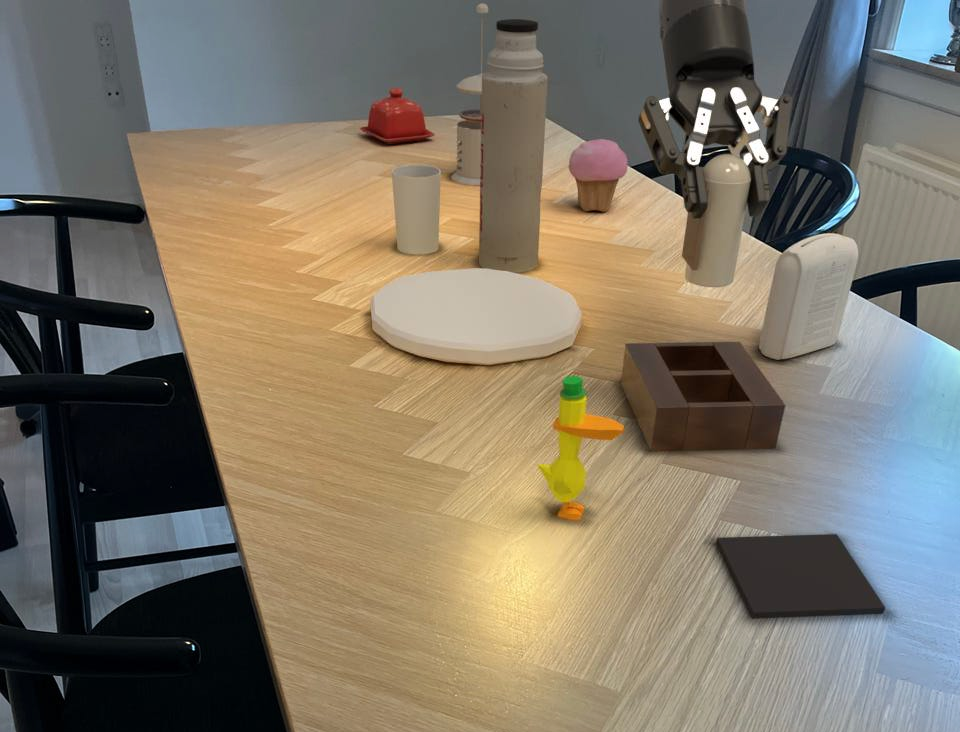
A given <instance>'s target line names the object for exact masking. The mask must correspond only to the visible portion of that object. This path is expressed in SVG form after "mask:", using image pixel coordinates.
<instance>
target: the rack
mask: <svg viewBox="0 0 960 732" xmlns="http://www.w3.org/2000/svg"><path fill="white" fill-rule="evenodd" d="M623 353H624V355H623V361H622V371H621V379H620V386H621V388H622V390H623V392H624V394H625V397H626V399H627V401H628V403H629V406H630V408H631V411H632V413H633V414H634V417H635V419H636V421H637V424H638V426H639V428H640V430H641V433H642V435H643V437H644V439H645V442H646V444H647V446H648V449H649V451H650V452H653V453H657V452H658V453H659V452H692V451H693V452H694V451H695V452H697V451H734V450H735V451H736V450H737V451H738V450H739V451H740V450H775V449H776V448H777V443H778V439H779V435H780V431H781V426H782V422H783V418H784V413H785V409H786V403H785V402H784V401H783V399H782V398H781V396H780V395H779V394H778V393H777V391H776V390H775V388H774V387H773V385H772V384H771V383H770V381H769V380H768V379H767V377H766V376H765V374H764V373H763V372H762V370H761V369H760V368H759V366H758V365H757V364H756V362H755V360H754V359H753V358H752V357H751V355H750V353H749V352H748V351H747V350H746V348H745V347H744V345H743V344H742V342H741V341H697V342H696V341H695V342H694V341H693V342H692V341H691V342H690V341H689V342H688V341H687V342H685V341H684V342H634V343H633V342H632V343H631V342H630V343H628V342H627V343H625V345H624V352H623Z"/></svg>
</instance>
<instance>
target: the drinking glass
mask: <svg viewBox="0 0 960 732" xmlns="http://www.w3.org/2000/svg"><path fill="white" fill-rule="evenodd" d="M441 177H442V170H441V169H440V168H438V167H436V166H433V165H426V164H404V165H400V166H395V167H393V168H391V180H392V181H391V182H392V183H391V184H392V195H393V205H394V206H393V208H394V218H395V219H394V221H395V232H396V233H395V234H396V244H397V245H396V246H397V250H398V251H399V252H401V253H404V254H407V255H427V254H432V253H435V252H437V251H438V250H439V243H440V242H439V240H440V239H439V238H440V212H441V210H440V208H441V207H440V206H441V181H442V178H441Z"/></svg>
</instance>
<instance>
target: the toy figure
mask: <svg viewBox="0 0 960 732" xmlns="http://www.w3.org/2000/svg"><path fill="white" fill-rule="evenodd" d="M583 381H584V379H583V378H582V376H577V375H571V376H566V377H565V378H563V379H562V384H563V389H561V390H560V391H559V404H558V405H559V406H558V416H557V417H555V419H554V421H553V424H552V429H553V430H555V431H557V436H558V449H559V450H558V451H559V455H558V456H557V457H556V458H555V460H554V461H552V463H551V464H544V463H543V464H542V463H536V465H537V468H538V469H539V470H540V472H541V474H542V475H543V477H544V479H545V480H546V482H547V484H548V487H549V489H550V491H551V493H552V494H553V496H554V497H555V499H556V500H557V501H559V502H562V504H561V506H560V508H559V511H558V513H557V515H556V516H557V517H558V518H561V519H565V520H567V521H568V520H569V521H581V519H582V517H583V514H584V511H585V507H584V506H583V505H582V504H580V503H579V502H574V500H575V499H576V498H577V497H578V496H579V495H580V494H581V493H582V491H583V490H584V489H585V487H586V476H587V471H586V468H585V466H584V464H583V463H582V461H581V460H580V458H579V453H580V450H581V449H580V448H581V444H582V441H583V439H592V440H600V441H601V440H602V441H613V440H614V439H615V438H618V437H619V436H620V435H622V434H623V433H624V428H625V425H623V424H621V423H620V422H618V421H617V420H615V419H611V418H609V417H605V416H600V415H596V414H588V413H587V402H588V398H587V396H586V395H587V394H588V390H587V389H586V387H585V388H584V387H583V384H584V383H583Z"/></svg>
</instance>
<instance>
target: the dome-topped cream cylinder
mask: <svg viewBox="0 0 960 732" xmlns="http://www.w3.org/2000/svg"><path fill="white" fill-rule="evenodd" d="M703 172H704V179H705V187H706V194H707V201H708V206H707V210H706V211H705V213H704V214H703V216H702V218H696V219H693V218H692V216H691V212H687V217H686V224H685V231H684V237H683V244H682V252H681V258H683V260H684V261H685V262H686V265H685V271H684V272H685V273H684V279H685V280H686V281H687V282H688V283H690V284H692V285H695V286H700V287H704V288H723V287H728V286H730V285H731V284H733V282H734V280H735V273H736V267H737V262H738V257H739V251H740V244H741V239H742V234H743V228H744V222H745V218H746V211H747V207H748V205H747V201H748V195H749V189H750V184H751V175H750V171H749V168H748V166H747V164H746V163H745V162H744V161H743V160H742V159H741V158H740V157H738V156H736V155H732V154H731V153H724V154H719V155H716V156H715V157H713V158H711V159H710V160H709V161H708V162H707V163H706V164H705V165H704V166H703Z"/></svg>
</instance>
